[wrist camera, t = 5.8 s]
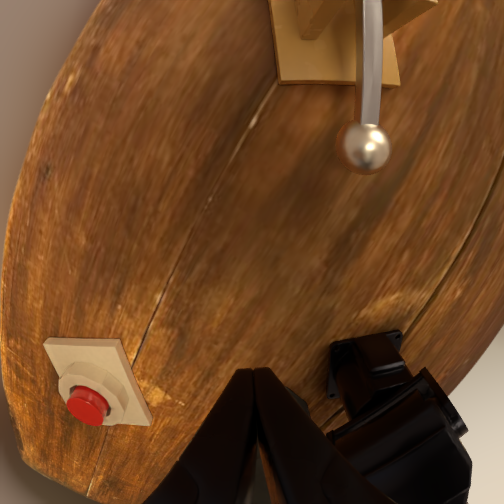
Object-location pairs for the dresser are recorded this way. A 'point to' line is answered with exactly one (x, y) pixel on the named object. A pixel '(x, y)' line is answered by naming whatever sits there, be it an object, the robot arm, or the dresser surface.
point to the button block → (100, 376)
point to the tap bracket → (332, 39)
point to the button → (87, 405)
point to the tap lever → (366, 97)
